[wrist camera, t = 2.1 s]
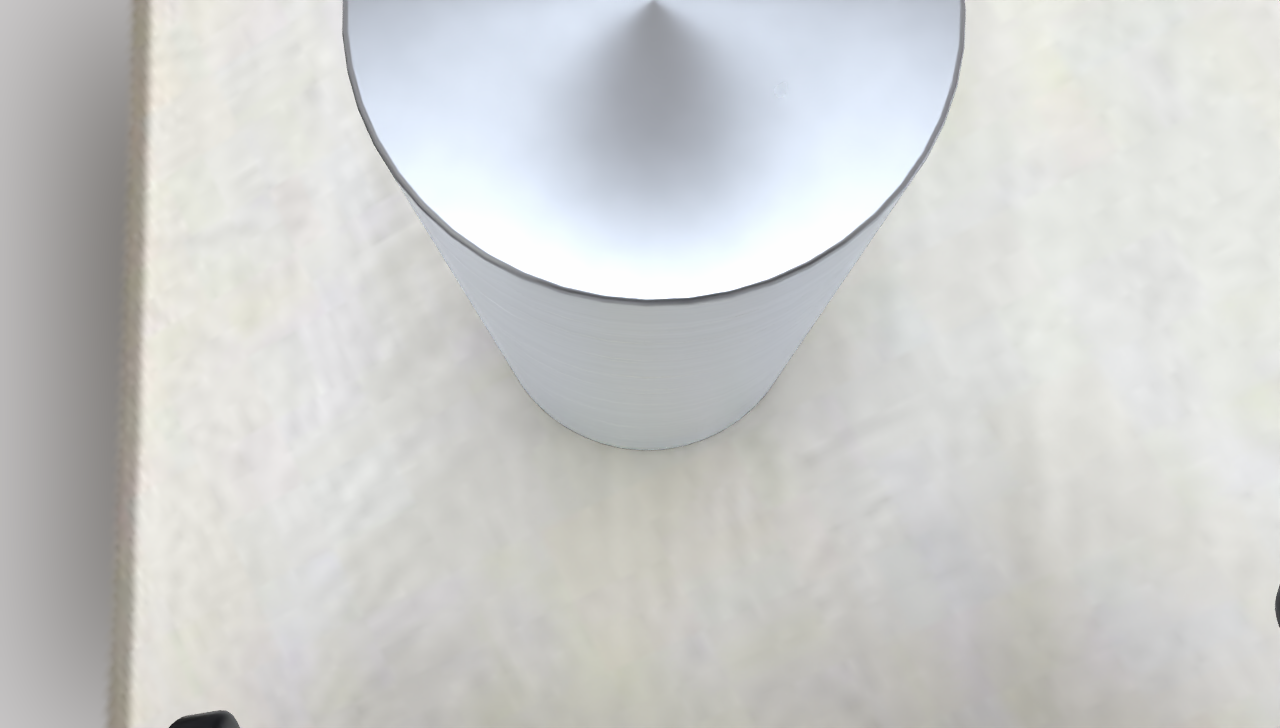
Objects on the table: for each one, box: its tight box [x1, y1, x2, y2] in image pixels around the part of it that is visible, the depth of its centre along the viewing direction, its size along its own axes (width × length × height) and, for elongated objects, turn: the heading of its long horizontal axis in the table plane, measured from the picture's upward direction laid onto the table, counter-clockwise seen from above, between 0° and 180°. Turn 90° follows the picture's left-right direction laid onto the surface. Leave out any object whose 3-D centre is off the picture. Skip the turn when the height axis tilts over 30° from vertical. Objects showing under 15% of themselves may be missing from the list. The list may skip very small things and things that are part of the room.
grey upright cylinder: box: [343, 0, 966, 450], centre depth 17 cm, size 6×6×12 cm
